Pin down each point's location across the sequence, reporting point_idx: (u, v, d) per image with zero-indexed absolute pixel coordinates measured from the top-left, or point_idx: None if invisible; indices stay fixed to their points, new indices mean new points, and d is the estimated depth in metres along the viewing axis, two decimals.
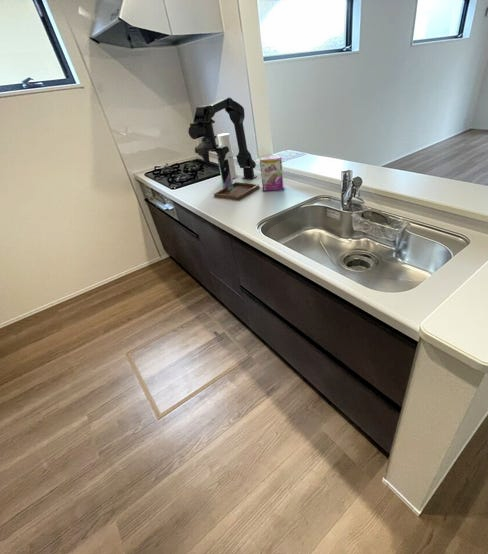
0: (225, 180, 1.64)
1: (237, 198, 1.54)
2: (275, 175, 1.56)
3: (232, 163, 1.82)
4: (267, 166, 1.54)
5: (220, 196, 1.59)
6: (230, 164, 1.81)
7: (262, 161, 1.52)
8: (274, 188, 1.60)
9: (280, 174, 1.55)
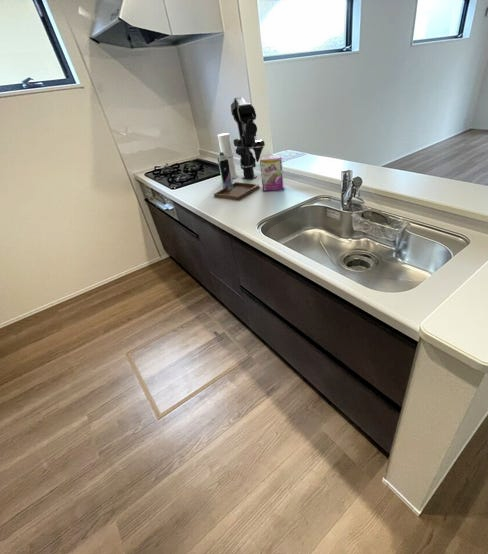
0: (225, 180, 1.64)
1: (237, 198, 1.54)
2: (275, 175, 1.56)
3: (232, 163, 1.82)
4: (267, 166, 1.54)
5: (220, 196, 1.59)
6: (230, 164, 1.81)
7: (262, 161, 1.52)
8: (274, 188, 1.60)
9: (280, 174, 1.55)
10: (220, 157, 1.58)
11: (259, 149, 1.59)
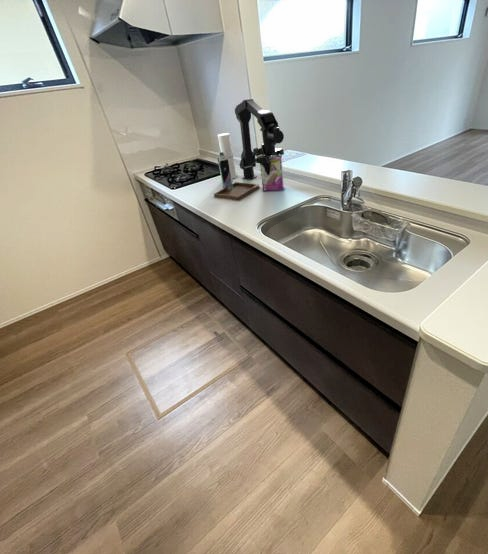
0: (225, 180, 1.64)
1: (237, 198, 1.54)
2: (275, 175, 1.56)
3: (232, 163, 1.82)
4: None
5: (220, 196, 1.59)
6: (230, 164, 1.81)
7: None
8: (274, 188, 1.60)
9: (280, 174, 1.55)
10: (220, 157, 1.58)
11: None
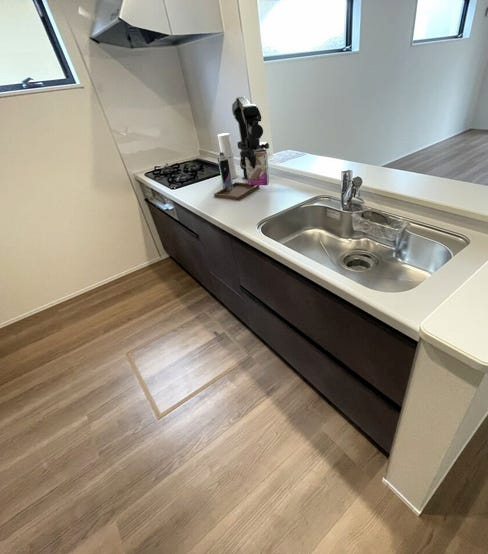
0: (225, 180, 1.64)
1: (237, 198, 1.54)
2: (259, 170, 1.54)
3: (232, 163, 1.82)
4: None
5: (220, 196, 1.59)
6: (230, 164, 1.81)
7: None
8: (259, 183, 1.59)
9: (264, 169, 1.54)
10: (220, 157, 1.58)
11: None
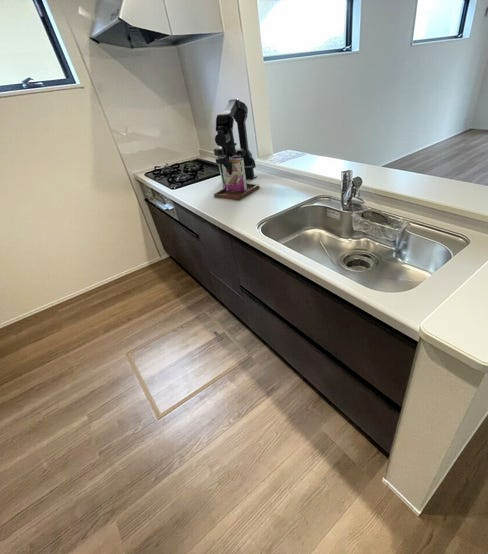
0: None
1: (237, 198, 1.54)
2: (236, 177, 1.57)
3: None
4: None
5: (220, 196, 1.59)
6: None
7: None
8: (236, 189, 1.61)
9: (241, 175, 1.56)
10: None
11: None
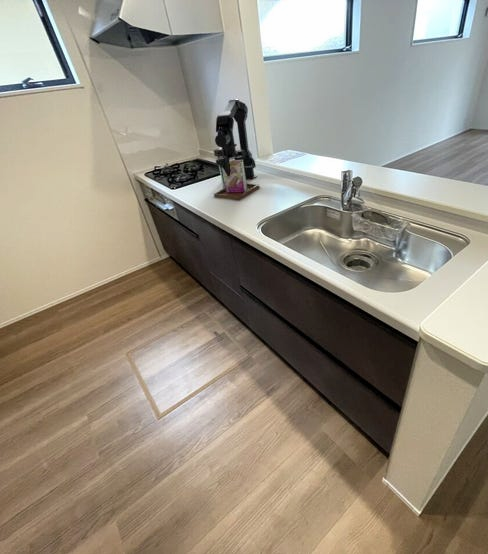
0: None
1: (237, 198, 1.54)
2: (236, 178, 1.57)
3: None
4: None
5: (220, 196, 1.59)
6: None
7: None
8: (236, 190, 1.61)
9: (241, 177, 1.56)
10: None
11: (240, 159, 1.57)
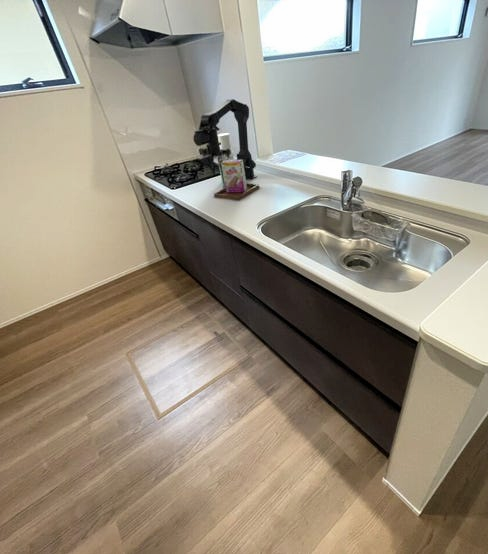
0: None
1: (237, 198, 1.54)
2: (236, 178, 1.57)
3: None
4: (228, 169, 1.55)
5: (220, 196, 1.59)
6: None
7: (223, 164, 1.54)
8: (236, 190, 1.61)
9: (241, 177, 1.56)
10: (220, 157, 1.58)
11: None
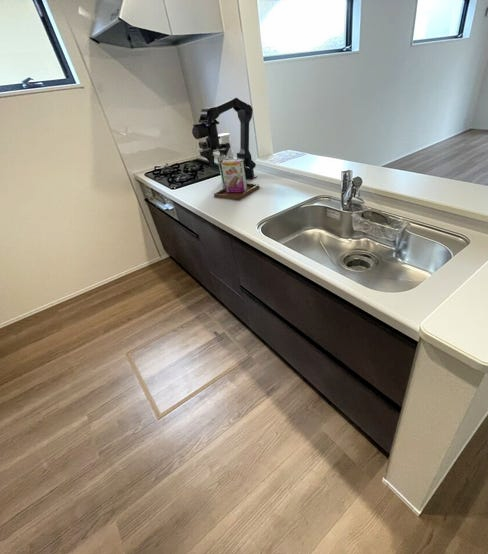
0: None
1: (237, 198, 1.54)
2: (236, 178, 1.57)
3: None
4: (228, 169, 1.55)
5: (220, 196, 1.59)
6: None
7: (223, 164, 1.54)
8: (236, 190, 1.61)
9: (241, 177, 1.56)
10: (220, 157, 1.58)
11: (224, 151, 1.63)
